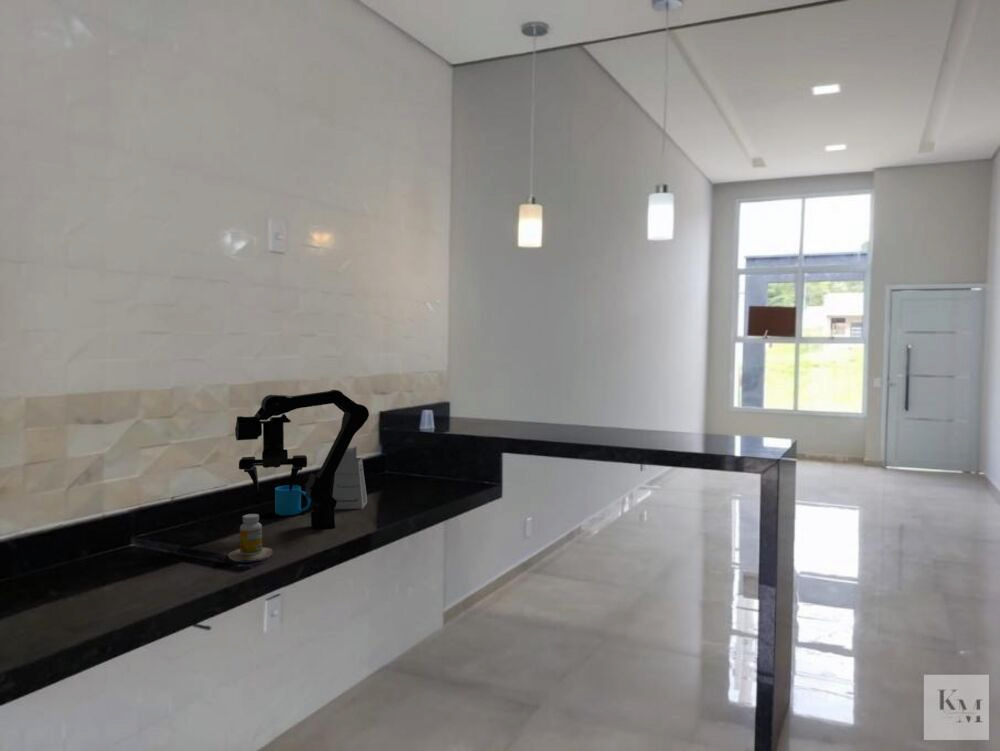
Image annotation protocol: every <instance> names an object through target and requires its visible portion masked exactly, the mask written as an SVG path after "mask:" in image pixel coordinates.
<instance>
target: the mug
mask: <svg viewBox="0 0 1000 751" xmlns="http://www.w3.org/2000/svg"><path fill="white" fill-rule="evenodd" d="M302 495H303V496H304V497H305V498H306V501H307V504H306V505H305V506H304V507H303V508H302ZM274 497H275V498H274V507H275V509H274V512H275V513H276V514H275V515H277V514H279V515H278V516H292V515H293V516H294V515H298V514H301V513H302V512H304V511H306V510H307V509H309V507H310V505H311V503H312V500H310V499H309V498H308V497H307V496H306V493H305V490H304V491H303V490H302V486H300V485H294V484H293V486H292V489H291V491H290V484H289V485H281V486H277V487H275V488H274Z"/></svg>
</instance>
